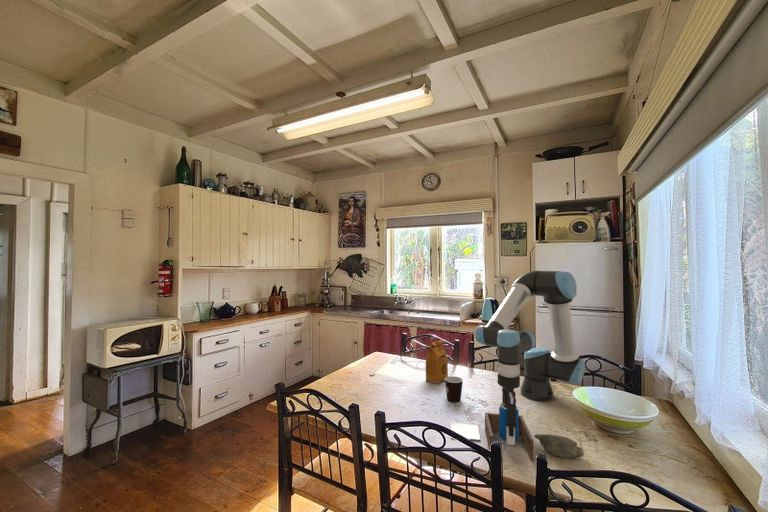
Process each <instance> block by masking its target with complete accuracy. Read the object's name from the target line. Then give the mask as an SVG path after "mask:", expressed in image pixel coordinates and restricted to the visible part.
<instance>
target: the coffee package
mask: <svg viewBox="0 0 768 512" xmlns="http://www.w3.org/2000/svg"><path fill="white" fill-rule="evenodd" d="M443 344H444V340H443V339H440V340H438V341H433V342H432V343H430V345H429V348H428V349H427V351H426V354H425V381H426V382H430V383H433V384H439V383H441V382H445V378H446V377H449V366H448V365H449V360H448V355H447V353H446V351H445V349H444V347H443Z"/></svg>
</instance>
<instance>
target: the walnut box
mask: <svg viewBox="0 0 768 512" xmlns="http://www.w3.org/2000/svg"><path fill="white" fill-rule="evenodd" d="M484 433H485V437H486V441H487V442H486V443H487V447H488V451H489V450H490V445H491V443H492V442H493V443H494V433H499V413H496V412H495V413H494V412H486V411H485V412H484ZM519 437H520V438H521V441H522V443H523V447H524V449H525V451H526V454H527V457H528V459H529V461H530V462H534V439H533V437H532V434H531V432H530V430H529V428H528V425H527V424H526V421H525V419H524V417H523V415H519Z"/></svg>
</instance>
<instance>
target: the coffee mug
mask: <svg viewBox="0 0 768 512" xmlns="http://www.w3.org/2000/svg"><path fill="white" fill-rule="evenodd" d="M463 381H464V380H463V378H462V377H459V376H454V375H452V376H451V375H450V376H449V375H448V377H446V378H445V380H444V384H445V393H446V401H447V402H449V403H452V404H457V403H458V404H459V403H461V398H462V391H463Z"/></svg>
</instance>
